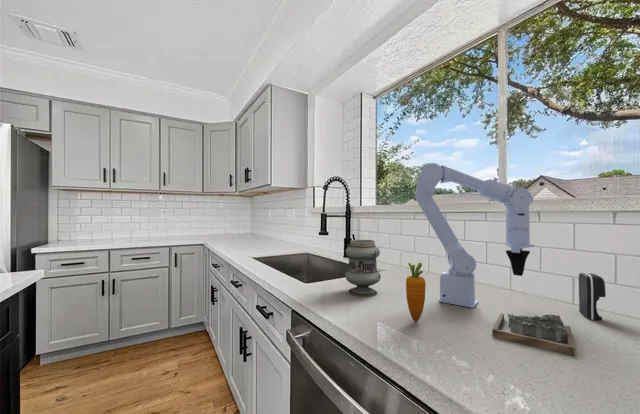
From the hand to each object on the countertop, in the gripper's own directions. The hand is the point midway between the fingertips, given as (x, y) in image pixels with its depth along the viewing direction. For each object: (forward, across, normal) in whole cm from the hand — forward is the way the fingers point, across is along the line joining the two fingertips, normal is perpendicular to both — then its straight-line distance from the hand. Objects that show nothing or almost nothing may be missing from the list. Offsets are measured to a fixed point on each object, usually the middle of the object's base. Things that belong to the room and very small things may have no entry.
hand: (518, 275), depth 84 cm
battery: (+10, +3, -16) cm, 19 cm away
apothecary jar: (+10, -16, +43) cm, 47 cm away
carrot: (+10, -31, +19) cm, 38 cm away
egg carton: (+10, -19, -5) cm, 22 cm away
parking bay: (+9, -21, -4) cm, 23 cm away
